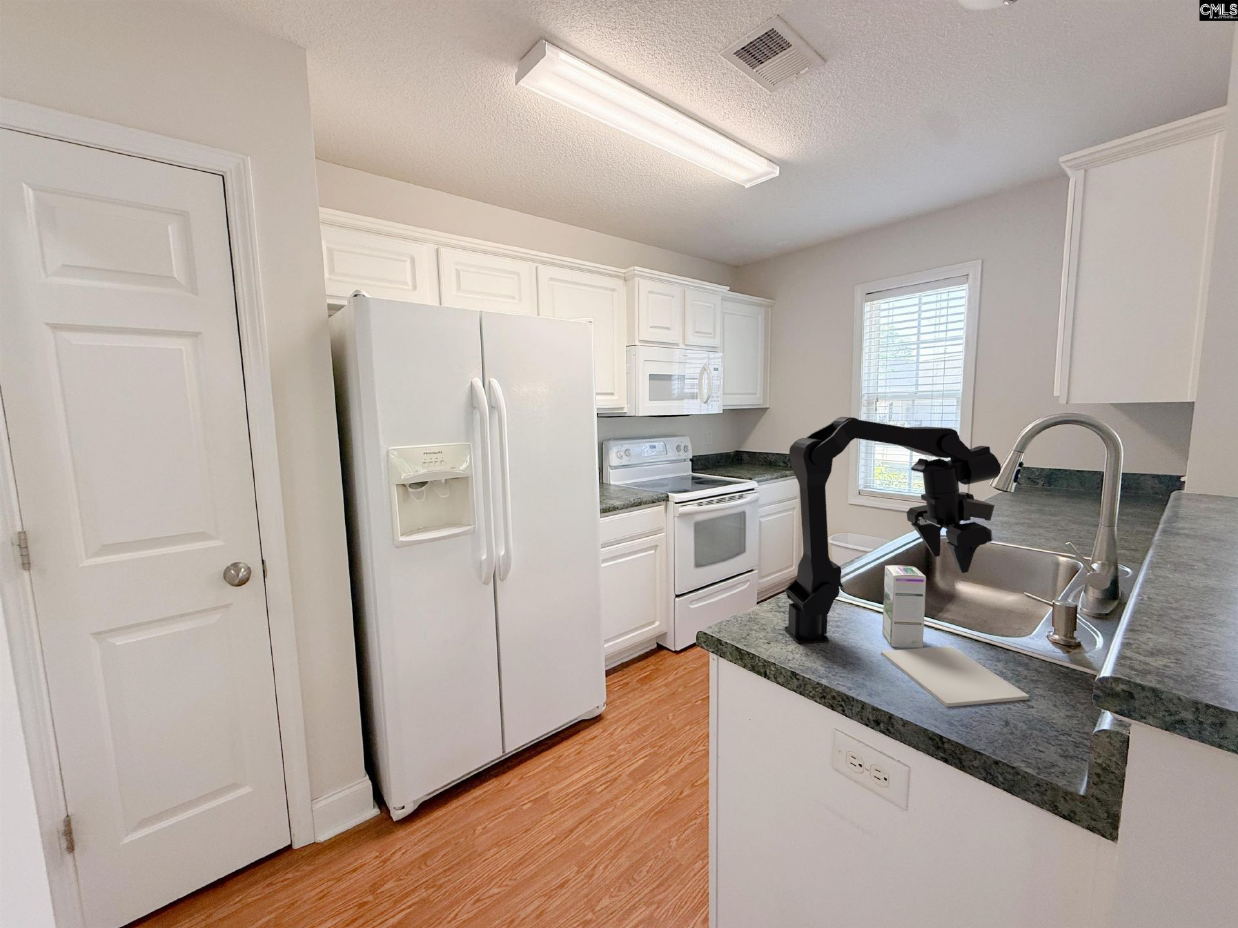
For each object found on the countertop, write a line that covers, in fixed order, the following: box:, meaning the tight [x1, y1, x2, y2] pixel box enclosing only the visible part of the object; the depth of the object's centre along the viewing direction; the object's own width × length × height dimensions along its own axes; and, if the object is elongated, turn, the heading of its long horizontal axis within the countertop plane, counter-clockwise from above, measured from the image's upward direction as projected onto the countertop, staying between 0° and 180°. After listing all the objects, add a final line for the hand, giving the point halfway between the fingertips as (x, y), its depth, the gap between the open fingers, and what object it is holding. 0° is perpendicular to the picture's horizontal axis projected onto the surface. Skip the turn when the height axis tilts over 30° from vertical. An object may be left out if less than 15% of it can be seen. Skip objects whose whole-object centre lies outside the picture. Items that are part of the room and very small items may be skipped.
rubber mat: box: [880, 645, 1030, 708], centre depth 85 cm, size 14×16×1 cm
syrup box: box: [882, 564, 927, 649], centre depth 96 cm, size 6×6×14 cm
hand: (950, 564), depth 100 cm, fingers open, 9 cm apart
